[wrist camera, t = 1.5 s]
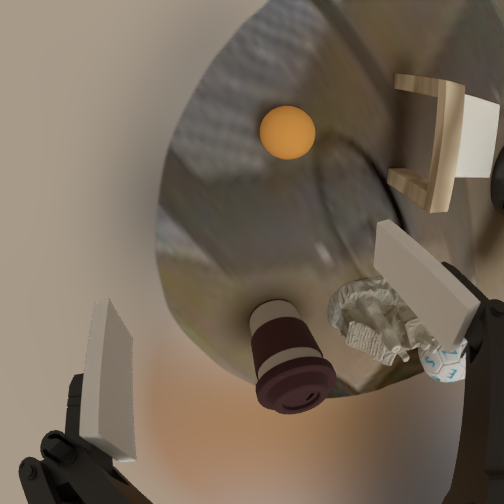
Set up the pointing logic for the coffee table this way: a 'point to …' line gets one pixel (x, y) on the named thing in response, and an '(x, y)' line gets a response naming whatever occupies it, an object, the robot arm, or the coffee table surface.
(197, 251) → the coffee table surface
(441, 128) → the bridge
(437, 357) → the puzzle ball
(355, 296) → the ceramic cottage
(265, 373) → the coffee cup
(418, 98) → the coffee table surface
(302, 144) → the ball
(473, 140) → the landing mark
